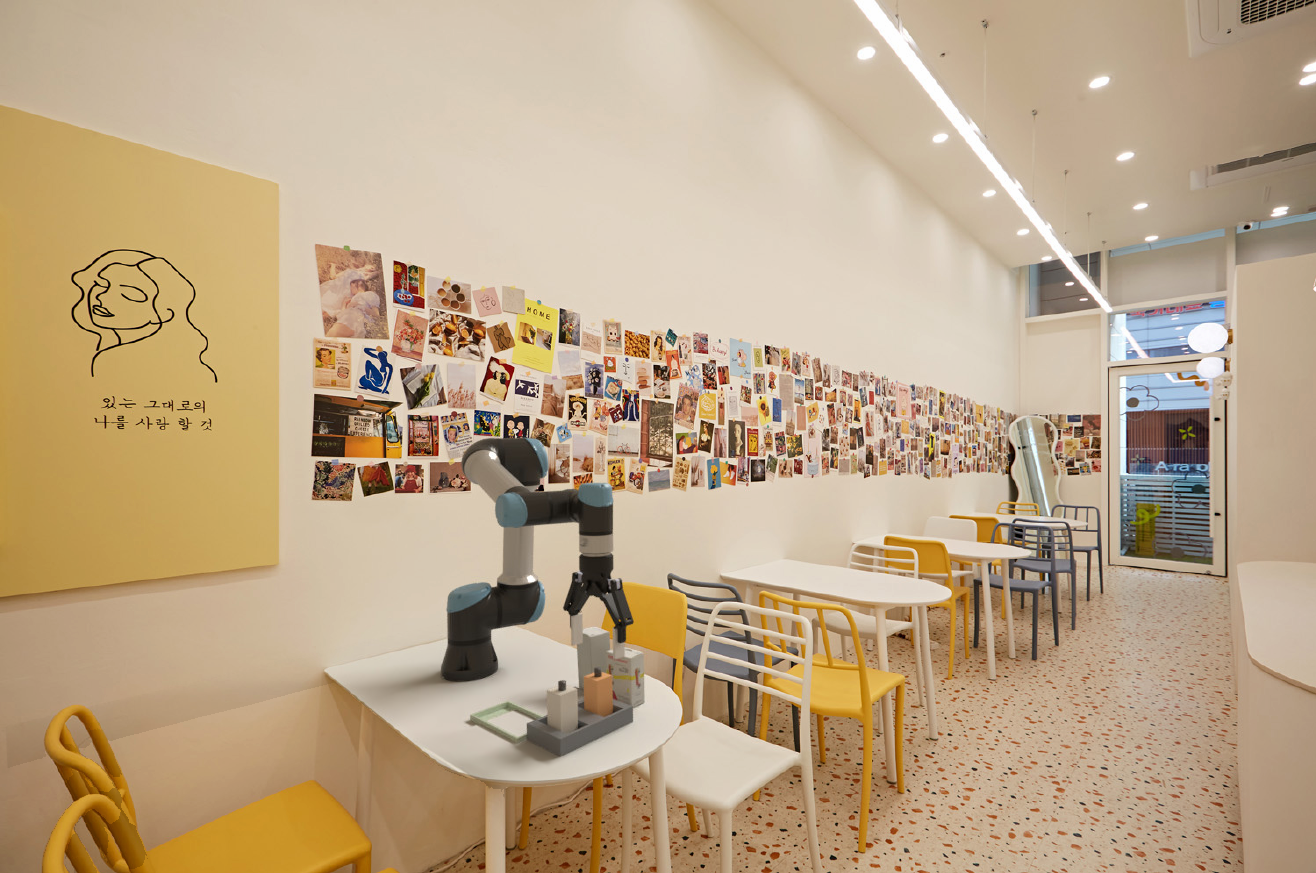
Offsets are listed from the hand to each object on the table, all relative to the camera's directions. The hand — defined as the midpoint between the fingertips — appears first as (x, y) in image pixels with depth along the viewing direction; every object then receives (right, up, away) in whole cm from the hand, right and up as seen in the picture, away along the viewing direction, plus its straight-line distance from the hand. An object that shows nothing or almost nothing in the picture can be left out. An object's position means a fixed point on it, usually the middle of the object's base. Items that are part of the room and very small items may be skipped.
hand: (597, 650), depth 132 cm
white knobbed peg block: (-6, -15, -8) cm, 18 cm away
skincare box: (-3, -17, +20) cm, 26 cm away
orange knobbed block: (0, -15, -1) cm, 15 cm away
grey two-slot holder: (-3, -16, -5) cm, 17 cm away
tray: (-19, -17, 0) cm, 25 cm away
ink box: (+6, -17, +12) cm, 21 cm away
